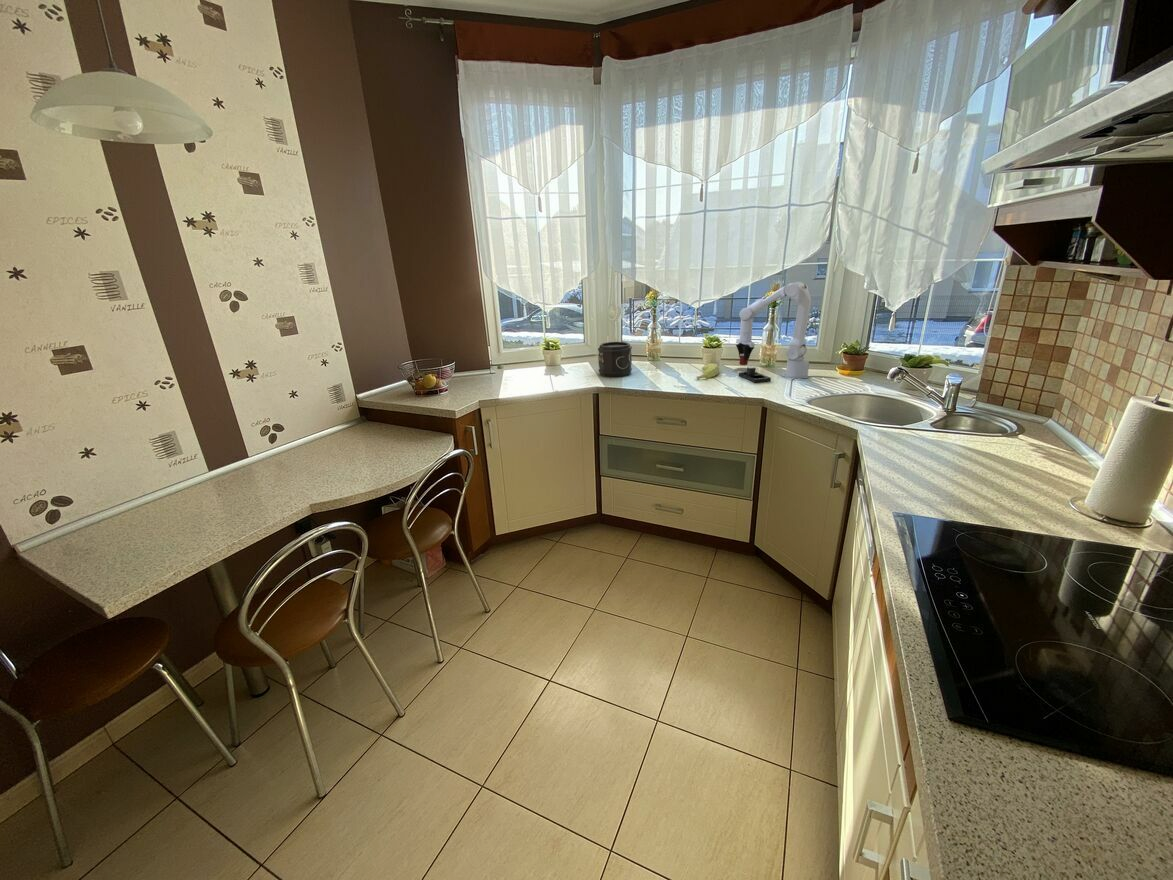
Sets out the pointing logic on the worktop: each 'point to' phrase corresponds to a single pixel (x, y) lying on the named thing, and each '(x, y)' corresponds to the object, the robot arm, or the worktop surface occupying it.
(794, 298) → the robot arm
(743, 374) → the rack
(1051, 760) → the worktop surface
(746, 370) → the coaster
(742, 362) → the pod
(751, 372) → the pod
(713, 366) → the pale green gourd
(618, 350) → the dark cylindrical canister
